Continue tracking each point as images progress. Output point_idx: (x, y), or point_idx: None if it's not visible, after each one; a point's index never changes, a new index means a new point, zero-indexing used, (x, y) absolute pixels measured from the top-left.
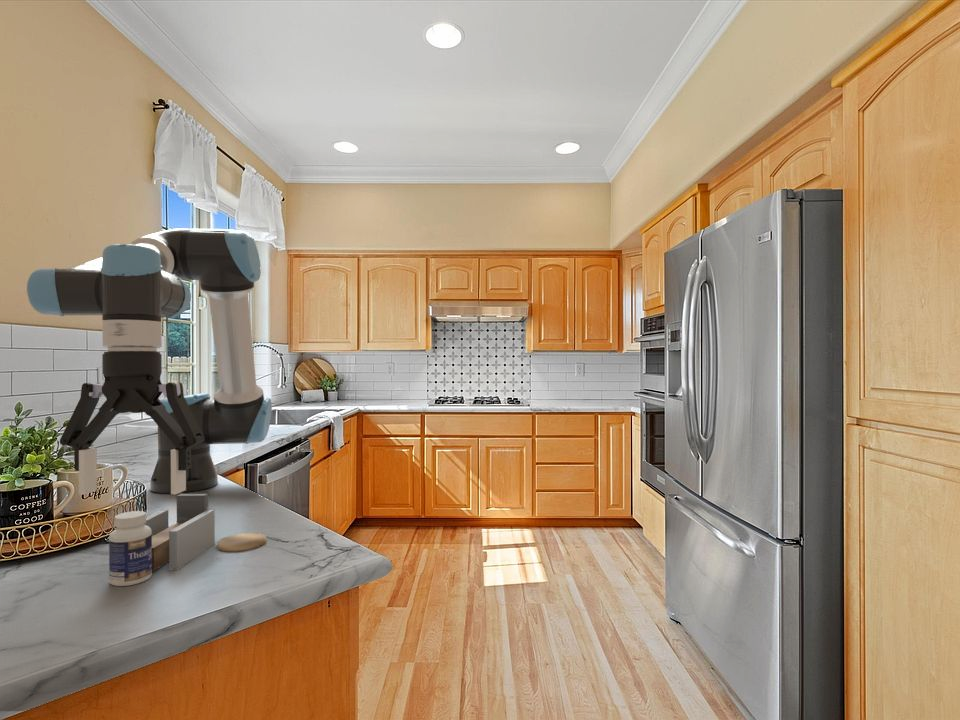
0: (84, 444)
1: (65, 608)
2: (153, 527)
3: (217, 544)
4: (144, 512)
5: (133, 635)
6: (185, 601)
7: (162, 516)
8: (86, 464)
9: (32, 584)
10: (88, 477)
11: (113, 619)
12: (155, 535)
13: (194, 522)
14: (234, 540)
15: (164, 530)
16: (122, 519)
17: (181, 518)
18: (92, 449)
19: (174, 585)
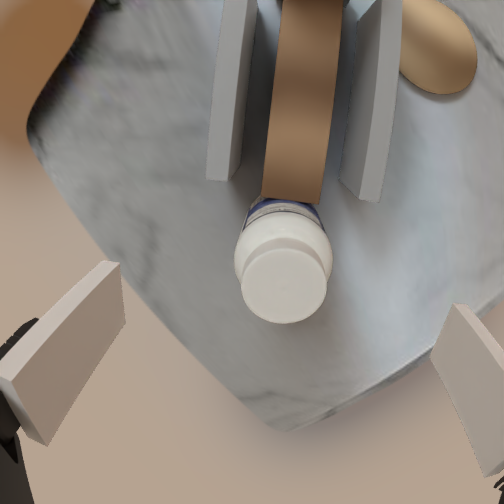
0: (1, 431)
1: (234, 322)
2: (245, 48)
3: None
4: (319, 271)
5: (359, 389)
6: (401, 318)
7: (248, 2)
8: (72, 385)
9: (113, 224)
10: (96, 338)
11: (322, 358)
12: (276, 98)
13: (393, 109)
14: (420, 39)
15: (280, 56)
16: (280, 323)
17: None
18: (25, 401)
19: (372, 259)
